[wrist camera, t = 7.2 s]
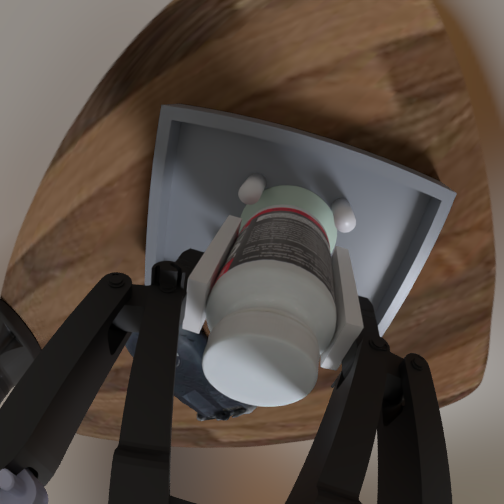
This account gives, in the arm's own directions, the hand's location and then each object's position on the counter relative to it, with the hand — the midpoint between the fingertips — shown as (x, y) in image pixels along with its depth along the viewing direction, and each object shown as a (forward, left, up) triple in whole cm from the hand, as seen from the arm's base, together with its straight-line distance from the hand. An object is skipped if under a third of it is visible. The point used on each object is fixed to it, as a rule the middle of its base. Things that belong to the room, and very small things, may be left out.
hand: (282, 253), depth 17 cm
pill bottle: (0, 0, -1) cm, 1 cm away
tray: (0, 0, -4) cm, 4 cm away
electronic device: (-5, -17, -4) cm, 18 cm away
